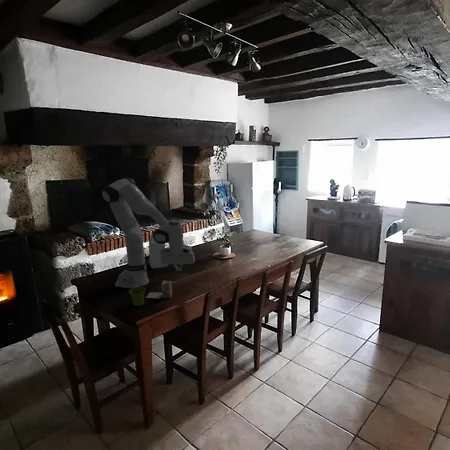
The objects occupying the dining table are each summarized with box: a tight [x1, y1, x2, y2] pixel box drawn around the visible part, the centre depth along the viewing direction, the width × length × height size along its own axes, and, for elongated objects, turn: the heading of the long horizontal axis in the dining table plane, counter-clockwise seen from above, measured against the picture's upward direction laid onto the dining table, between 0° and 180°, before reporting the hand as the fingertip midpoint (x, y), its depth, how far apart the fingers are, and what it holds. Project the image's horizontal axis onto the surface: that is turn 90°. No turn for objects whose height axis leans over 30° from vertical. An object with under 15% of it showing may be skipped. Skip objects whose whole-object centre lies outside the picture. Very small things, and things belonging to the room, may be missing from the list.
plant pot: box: [128, 286, 146, 307], centre depth 193 cm, size 9×9×9 cm
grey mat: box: [145, 292, 163, 300], centre depth 203 cm, size 9×8×1 cm
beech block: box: [161, 280, 173, 299], centre depth 202 cm, size 5×5×9 cm
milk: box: [148, 232, 169, 270], centre depth 254 cm, size 12×12×26 cm
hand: (178, 270), depth 198 cm, fingers closed
